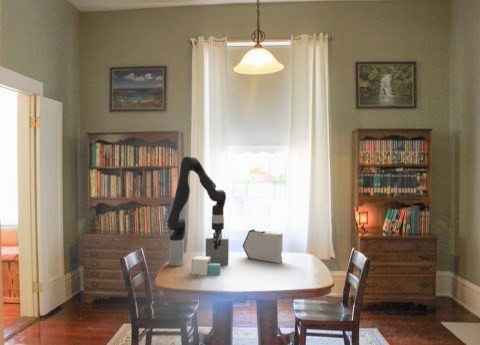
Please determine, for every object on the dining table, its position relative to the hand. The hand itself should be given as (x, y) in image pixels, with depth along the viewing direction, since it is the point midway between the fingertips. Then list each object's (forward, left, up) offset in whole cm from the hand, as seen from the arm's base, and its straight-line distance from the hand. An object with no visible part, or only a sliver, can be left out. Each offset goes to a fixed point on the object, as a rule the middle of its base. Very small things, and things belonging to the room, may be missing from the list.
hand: (217, 247), depth 220 cm
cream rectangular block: (-10, -1, -16) cm, 19 cm away
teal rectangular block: (-5, -1, -17) cm, 17 cm away
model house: (+25, +41, -17) cm, 51 cm away
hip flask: (-5, +21, -17) cm, 28 cm away
